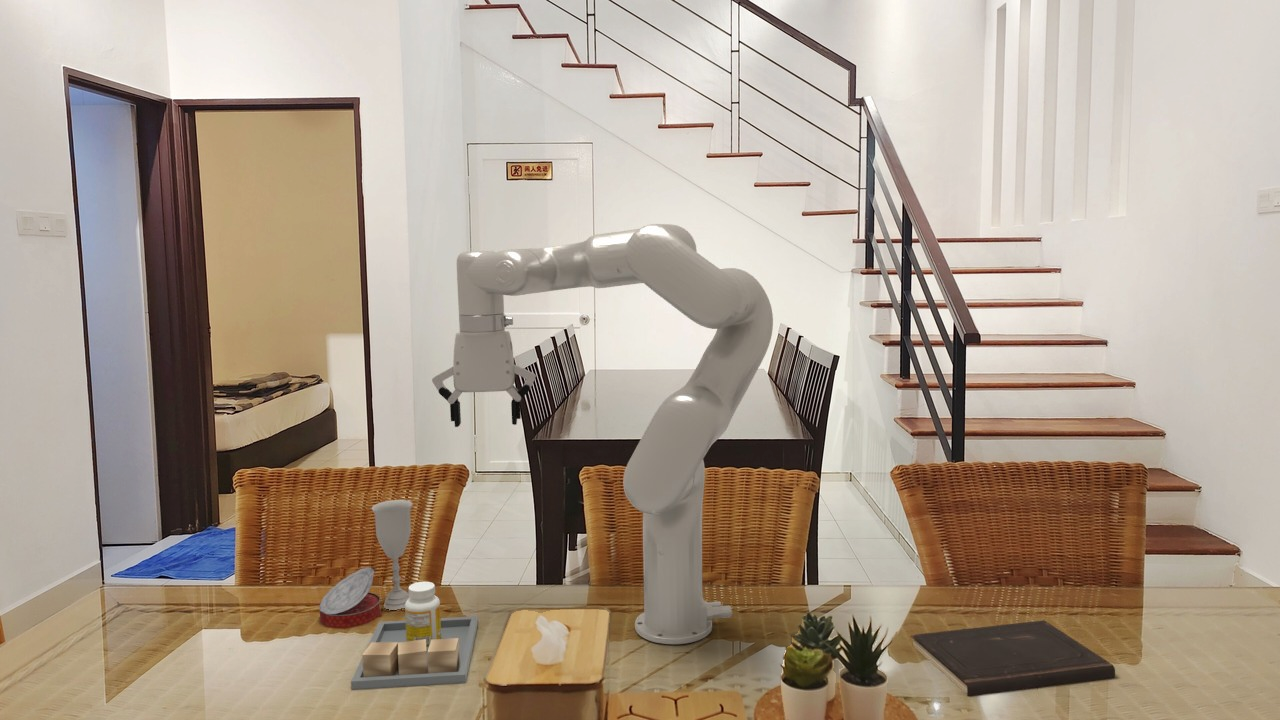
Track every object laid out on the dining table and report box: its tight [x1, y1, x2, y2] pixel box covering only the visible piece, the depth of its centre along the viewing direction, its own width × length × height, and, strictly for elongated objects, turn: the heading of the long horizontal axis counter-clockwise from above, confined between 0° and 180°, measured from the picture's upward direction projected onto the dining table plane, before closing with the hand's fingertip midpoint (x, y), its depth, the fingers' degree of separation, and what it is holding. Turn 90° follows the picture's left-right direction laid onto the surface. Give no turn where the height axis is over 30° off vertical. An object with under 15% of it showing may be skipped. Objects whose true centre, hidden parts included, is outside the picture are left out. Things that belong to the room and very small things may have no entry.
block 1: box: [361, 642, 399, 677], centre depth 129 cm, size 4×4×4 cm
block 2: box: [398, 639, 428, 675], centre depth 129 cm, size 4×4×4 cm
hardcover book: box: [910, 620, 1116, 697], centre depth 131 cm, size 16×23×2 cm
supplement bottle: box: [404, 581, 442, 651], centre depth 138 cm, size 5×5×10 cm
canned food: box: [318, 566, 382, 629], centre depth 150 cm, size 11×10×10 cm
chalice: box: [371, 499, 413, 611], centre depth 154 cm, size 7×7×18 cm
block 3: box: [427, 638, 460, 673], centre depth 130 cm, size 4×4×4 cm
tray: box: [350, 615, 479, 691], centre depth 135 cm, size 16×20×2 cm
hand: (486, 424), depth 151 cm, fingers open, 9 cm apart
